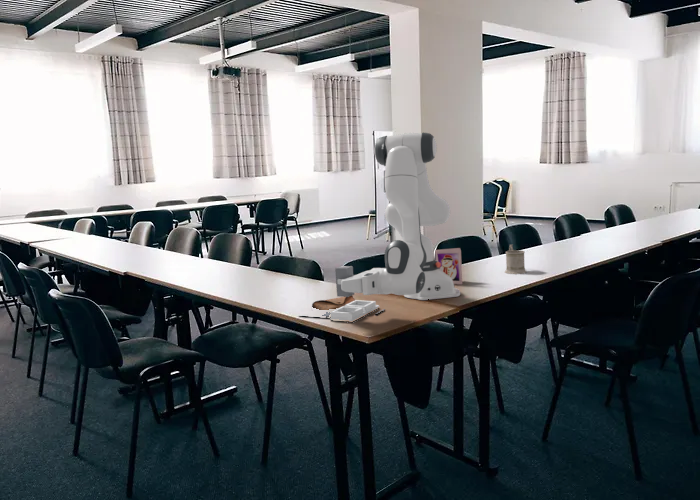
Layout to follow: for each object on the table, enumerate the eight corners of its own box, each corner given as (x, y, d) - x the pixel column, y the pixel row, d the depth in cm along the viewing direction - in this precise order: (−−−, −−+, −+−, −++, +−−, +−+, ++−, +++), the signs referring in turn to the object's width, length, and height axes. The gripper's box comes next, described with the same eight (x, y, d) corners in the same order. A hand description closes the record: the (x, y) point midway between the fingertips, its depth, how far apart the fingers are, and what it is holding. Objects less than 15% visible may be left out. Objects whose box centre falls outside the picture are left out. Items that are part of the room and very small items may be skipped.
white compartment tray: (358, 306, 217) (357, 298, 217) (379, 308, 213) (378, 299, 212) (330, 321, 199) (329, 312, 199) (352, 322, 195) (352, 313, 194)
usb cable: (383, 310, 209) (383, 308, 209) (385, 310, 209) (385, 308, 209) (374, 315, 202) (374, 313, 202) (376, 315, 202) (376, 313, 202)
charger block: (343, 293, 202) (341, 265, 201) (354, 294, 200) (352, 265, 199) (337, 296, 198) (335, 267, 197) (348, 296, 196) (346, 267, 195)
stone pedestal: (529, 273, 260) (528, 247, 258) (507, 274, 260) (506, 248, 258) (520, 268, 274) (519, 243, 272) (500, 269, 274) (499, 244, 273)
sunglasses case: (321, 314, 209) (316, 297, 211) (315, 320, 215) (310, 304, 217) (363, 306, 218) (358, 290, 220) (356, 312, 223) (351, 296, 226)
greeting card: (436, 284, 250) (434, 250, 248) (441, 280, 257) (439, 247, 255) (461, 284, 245) (460, 250, 243) (466, 281, 252) (464, 247, 250)
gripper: (390, 266, 201) (356, 265, 208) (363, 277, 183) (327, 276, 190) (391, 284, 202) (357, 282, 208) (365, 296, 184) (328, 294, 191)
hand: (342, 279), depth 199 cm, fingers closed on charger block, 4 cm apart
